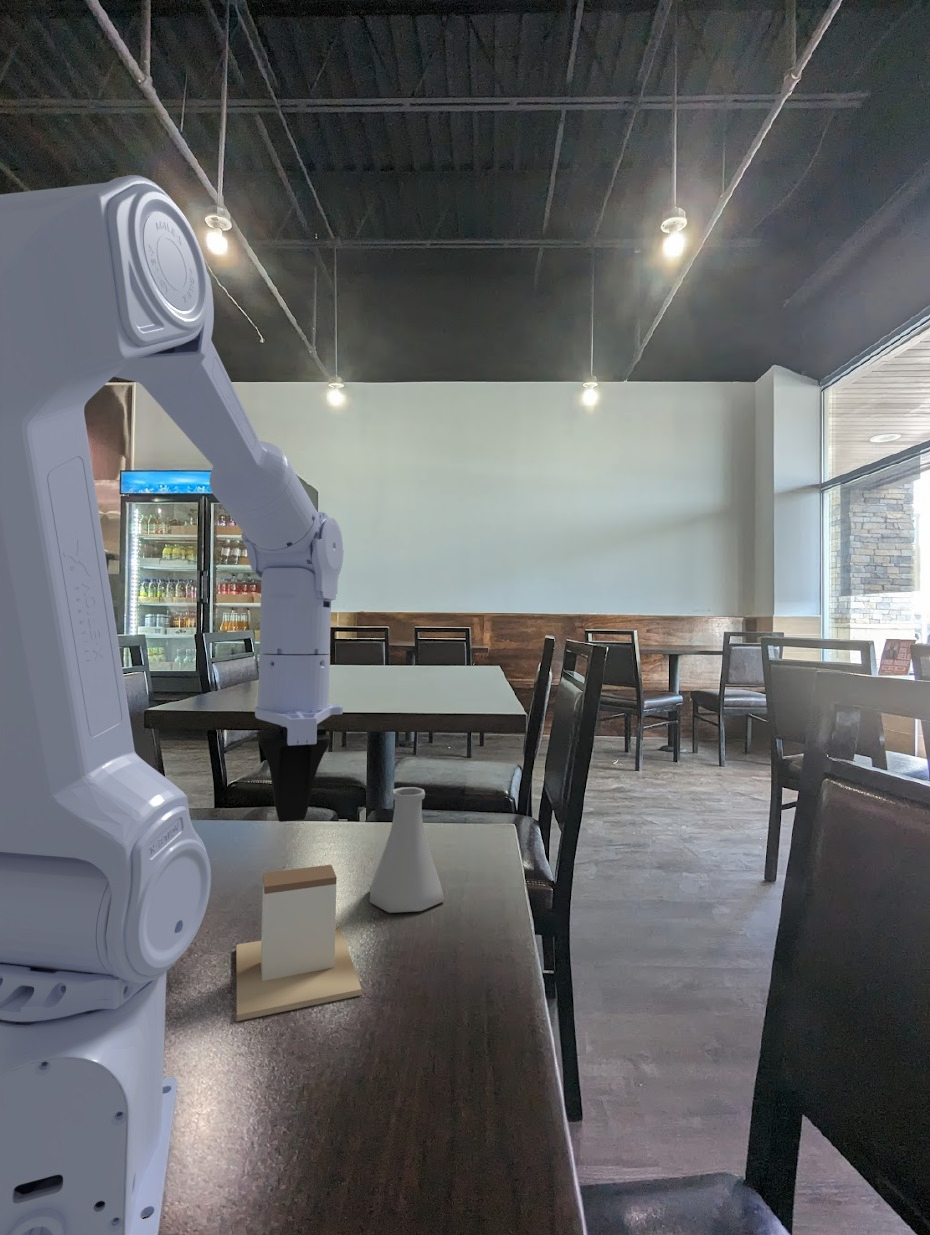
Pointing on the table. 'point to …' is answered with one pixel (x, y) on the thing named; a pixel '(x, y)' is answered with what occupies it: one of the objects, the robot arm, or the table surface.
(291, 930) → the cream slab
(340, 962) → the cork mat
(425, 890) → the flask
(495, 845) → the table surface
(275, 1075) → the table surface
